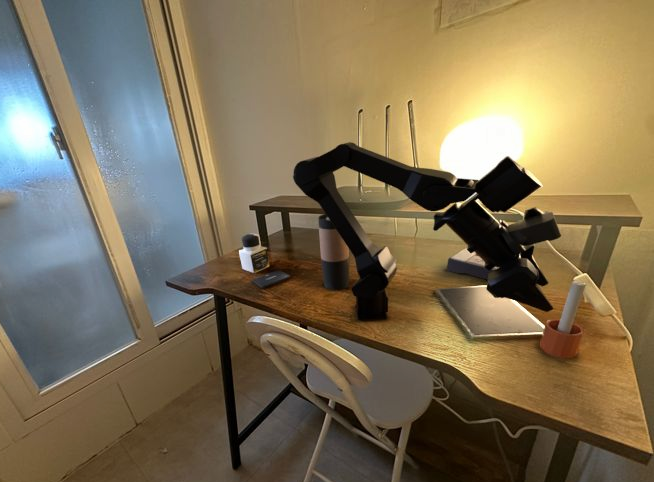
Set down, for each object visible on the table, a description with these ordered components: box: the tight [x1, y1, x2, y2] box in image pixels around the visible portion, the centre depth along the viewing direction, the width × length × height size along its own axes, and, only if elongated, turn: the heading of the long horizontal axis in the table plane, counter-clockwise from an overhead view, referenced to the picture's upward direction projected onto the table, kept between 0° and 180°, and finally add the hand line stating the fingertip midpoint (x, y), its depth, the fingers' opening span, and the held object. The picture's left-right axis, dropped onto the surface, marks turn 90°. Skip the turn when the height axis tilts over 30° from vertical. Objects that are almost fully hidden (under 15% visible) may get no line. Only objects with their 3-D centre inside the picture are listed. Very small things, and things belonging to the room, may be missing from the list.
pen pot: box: [539, 318, 586, 359], centre depth 52 cm, size 5×5×5 cm
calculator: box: [446, 247, 499, 281], centre depth 82 cm, size 11×4×15 cm
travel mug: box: [317, 213, 350, 291], centre depth 83 cm, size 8×8×20 cm
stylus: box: [557, 280, 587, 334], centre depth 50 cm, size 2×2×13 cm
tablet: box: [434, 284, 545, 341], centre depth 66 cm, size 14×20×1 cm
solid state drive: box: [252, 269, 291, 289], centre depth 95 cm, size 7×10×1 cm
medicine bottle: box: [238, 233, 270, 274], centre depth 104 cm, size 7×7×12 cm
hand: (547, 296), depth 51 cm, fingers open, 9 cm apart
